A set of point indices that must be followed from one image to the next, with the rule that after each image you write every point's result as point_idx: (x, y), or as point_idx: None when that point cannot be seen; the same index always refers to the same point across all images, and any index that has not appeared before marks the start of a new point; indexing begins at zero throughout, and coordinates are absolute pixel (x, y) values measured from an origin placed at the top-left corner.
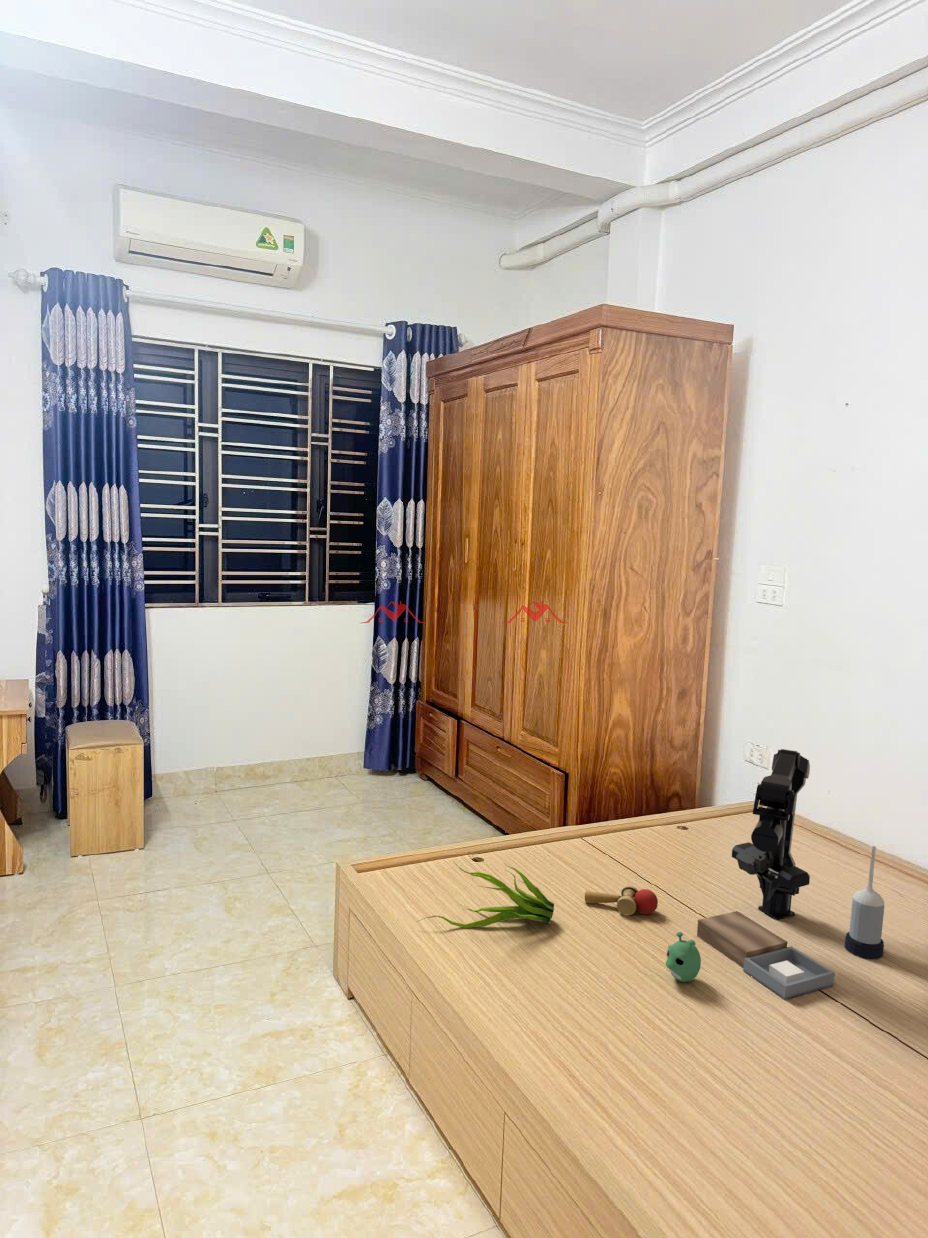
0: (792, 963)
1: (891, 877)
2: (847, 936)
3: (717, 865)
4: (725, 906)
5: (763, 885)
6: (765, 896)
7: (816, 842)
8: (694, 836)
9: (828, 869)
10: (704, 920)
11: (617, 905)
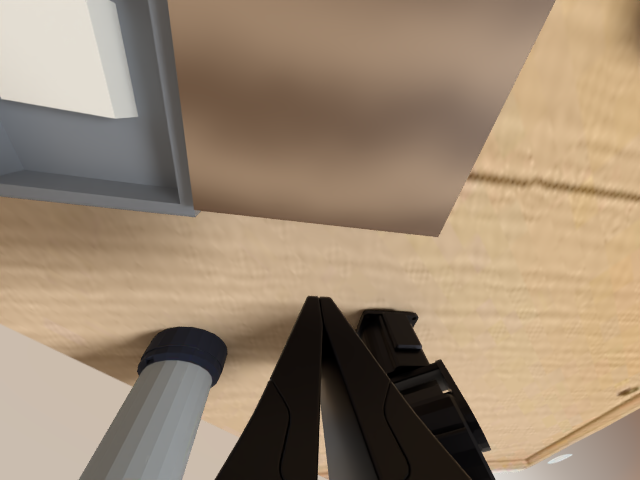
0: (168, 171)
1: None
2: (197, 359)
3: (544, 360)
4: (478, 269)
5: (346, 396)
6: (315, 312)
7: None
8: (603, 388)
9: None
10: (522, 33)
11: None
